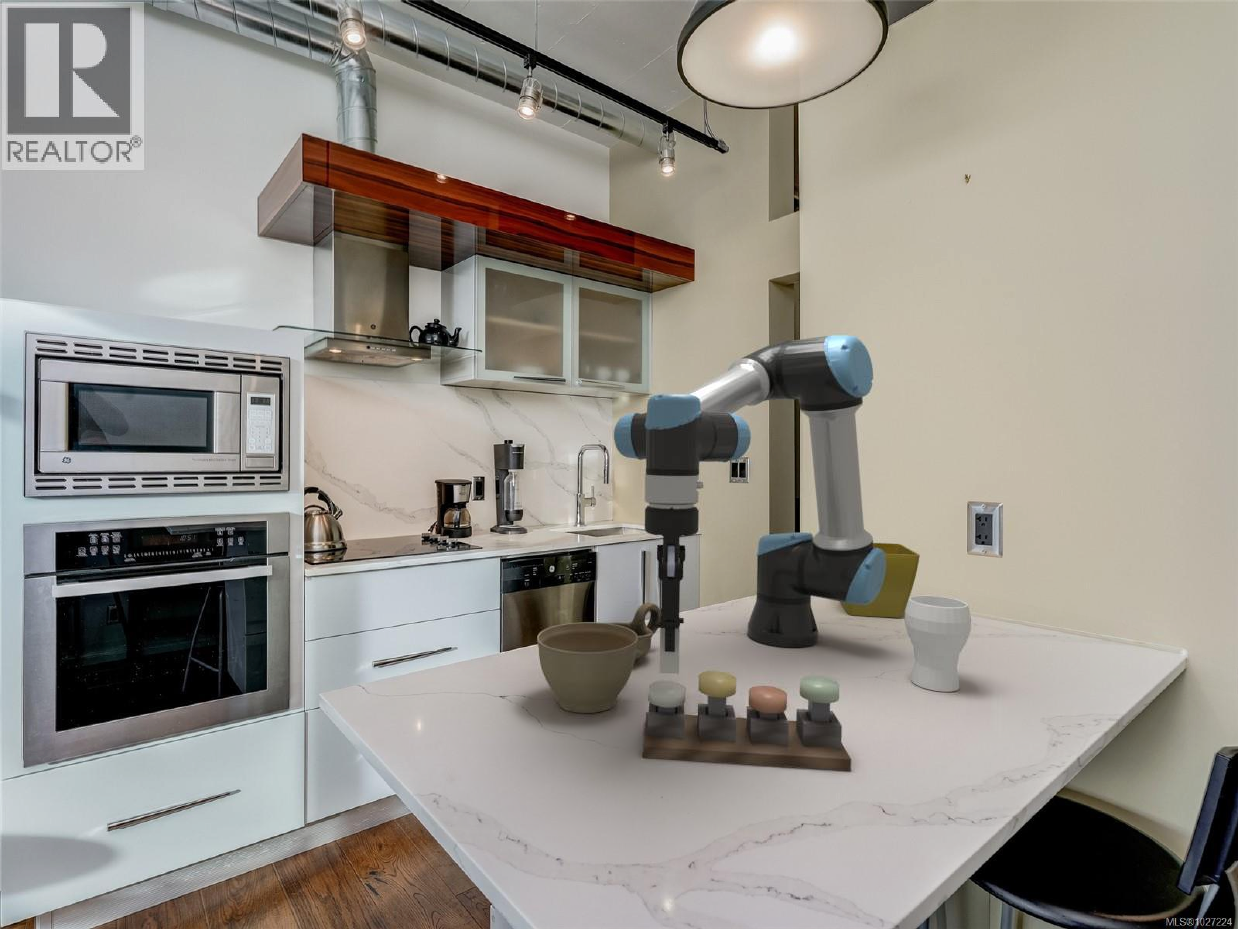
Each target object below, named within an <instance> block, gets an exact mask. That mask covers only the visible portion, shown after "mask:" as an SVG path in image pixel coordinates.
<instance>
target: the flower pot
mask: <svg viewBox="0 0 1238 929" xmlns="http://www.w3.org/2000/svg"><path fill="white" fill-rule="evenodd" d="M873 547H874V548H879V549H881V550H883V552H884V554H885V556H886V571H885V576H884V581H883V584H882V587H881V589H880V591H879V593H878V595H877V597H876V598H875V599H874V600H873V601H872V602H871V603H869V604H867V605H860V604H853V603H851V604H847V603H846V602H841V601H839V603H840V605H841V606H842V608H843V609H844V610H845V612H846V613H847V614H848V615H850V616H861V617H879V618H894V619H895V618H901V617H902V615H903V613H905V610H906V606H907V603H908V599H909V598H910V597H911V595H912V594H911V593H912V591H913V587H914V583H915V580H916V575H917V572H918V567H919V566H918V565H919V563H920V562H919V561H920V554H919V553H917V552H916V551H913V550H912V549H910V548H908V547H906V546H905V545H903V544H900V543H889V542H888V543H887V542H885V543H884V542H873Z"/></svg>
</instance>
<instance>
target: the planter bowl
mask: <svg viewBox="0 0 1238 929" xmlns="http://www.w3.org/2000/svg"><path fill="white" fill-rule="evenodd" d="M608 623H609V622H598V621H597V622H594V621H593V622H590V621H589V622H588V621H585V622H583V621H582V622H569V623H562V624H561V623H560V624H556V625H552V626H549V627H546V628H545V629H543V630H541V631H540V632H539V633H538V634H537V638H536V642H537V643H536V644H537V646H538V656H539V664H540V668H541V672H542V673H543V676H544V678H545V681H546V682H547V684H548V686H549V687H550V690H552V692H553V694H554V695H555V696H556V701H557V704H558V706H560V707H561V708H562V709H565V710H567V711H569V712H573V713H579V714H592V713H593V714H594V713H600V712H603V711H606V710H610V709H611V708H613V707H614V706H616V704H617V700H618V696H619V694H620V693H621V691H622V690H623V689H624V688H625V686H626V684H627V683H628V681H629V680H630V677H631V675H632V674H631V673H632V671H633V670H634V669H633V668H634V664H635V662H636V661H635V660H636V659H635V656H636V646H637V643H638V636H637V634H636V633H635V632H634V631H632V630H630V629H628V628H626V627H623V626H619V625H614V624H608Z"/></svg>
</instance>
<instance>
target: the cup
mask: <svg viewBox="0 0 1238 929" xmlns="http://www.w3.org/2000/svg"><path fill="white" fill-rule="evenodd" d="M970 612H971V611H970V607H969V605H968V603H967V602H965V601H963V600H960V599H956V598H953V597H946V596H941V595H929V594H928V595H927V594H922V595H921V594H919V595H918V594H917V595H912V596H911V595H910V597H909V599H908V602H907V605H906V607H905V609H904V626H905V628H906V633H907V635H908V638H909V640H910V642H911V644H912V647H913V653H914V654H913V655H914V663H913V669H912V672H911V677H910V678H911V679H910V680H911V682H912V683H913V684H914V685H916V686H918V687H920V688H922V689H923V688H924V689H927V690H931V691H935V692H943V693H945V692H946V693H949V692H955V691H959V690H960V680H959V673H958V662H959V659H960V658H959V656H960V653H961V652H962V650H963V648H964V647H966V646H965V645H966V644H967V642H968V639H969V637H970V634H971V630H972V617H971V613H970Z"/></svg>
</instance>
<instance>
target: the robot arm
mask: <svg viewBox="0 0 1238 929" xmlns="http://www.w3.org/2000/svg"><path fill="white" fill-rule="evenodd" d="M873 380H874V370H873V364H872V359H871V356H870V353H869V351H868V348H867V347H866V345H865V344H864V343H863V341H862V340H861V339H859V337H857V336H855V335H849V334H844V335H843V334H841V335H840V334H839V335H836V334H834V335H833V334H832V335H826V336H817V337H811V338H804V339H803V338H801V339H794V340H782V341H778V342H775V343H772V344H769V345H766V346H764V347H761V348H760V349H757V350H755V351H754V352H752V353H749V354H747V355H745V356H743V357H741V358H739V359H737V360H735V361H734V362H733V363H731V364H730V366H729V368H728V369H727V371H725V372H723V373H721V374H719V375H717V376H716V377H713V378H712V379H710V380H708V381H705V382H704V383H702V384H700V385H698V386H696V387H694V388H693V389H690V390H688V391H687V392H684V393H661V394H660V393H659V394H653V395H651V396H650V397H649V398H648V400H647V403H646V404H647V408H646V412H644V413H640V412H634V413H631V414H630V413H629V414H625V415H623V416H621V417H620V418H619V419H618V420H617V422H616V425H615V427H614V430H613V440H614V444H615V448H616V449H617V451H618V453H619V454H620V455H622V456H623V457H625V458H630V459H637V460H640V461H642V460H645V474H644V501H645V503H647V504H648V505H647V506H646V507H645V508H644V530H645V532H646V533H647V534H649V535H654V536H662V539H663V540H662V544H657V548H656V559H657V561H658V576H657V577H658V579H659V580H660V581H661V601H660V602H661V607H660V608H661V609H660V611H661V621H660V622H656V628H658V629H659V631H660V632H659V674H673V675H674V674H675V675H677V674H680V628H681V624H685V621H684V620H685V619H684V617H680V600H681V599H680V596H681V595H680V594H681V593H680V592H681V590H680V589H681V581H682V580H683V579H684V562H685V561H686V545H684V544H683V545H681V544H680V537H682V536H684V537H688V536H689V537H690V536H694V535H696V534H697V533H698V532H699V522H700V521H699V514H700V513H699V511H700V510H699V509H698V507H697V506H695V505H696V504H697V503H699V494H700V493H699V489H700V490H701V489H703V488H704V483H703V481H698V480H699V479H700V477H699V475H700V462H701V463H711V462H714V463H715V462H719V463H728V462H731V461H737V460H738V459H740V458H742V457H743V456H744V455H745V454H746V453H747V452H748V450H749V447H750V445H751V439H752V435H751V429H750V427H749V424H748V422H746V420H745V419H744V418H743V417H742V416H740V415H738V414H735V413H736V412H737V411H739V410H740V409H743V408H744V407H746V406H749V407H751V406H756V405H759V404H761V403H762V402H765V401H774V400H798V401H799V410H800V412H801V413H802V414H804V415H805V416H806V417H807V418H808V422H809V435H810V444H811V453H812V454H811V455H812V465H813V466H812V467H813V477H814V478H813V479H814V487H815V498H816V508H817V520H818V530H819V531H818V532H817V533H816V534H815V535H813V533H811V532H783V533H774V534H773V533H772V534H766V535H764V536H761V537H760V538H759V540H758V544H757V545H758V546H757V553H756V559H757V560H756V561H757V562H756V563H757V564H756V565H757V566H756V567H757V568H756V569H757V570H756V601H755V603H754V607H753V609H752V611H751V615H750V617H749V620H748V622H747V633H746V634H747V636H748V638H750V639H751V640H753V641H756V642H757V643H760V644H764V645H769V646H773V647H774V646H775V647H782V648H804V647H810V646H814V645H816V644H817V643H818V642H819V630H818V629H819V628H818V626H817V623H816V619H815V615H814V613H813V609H812V602H811V601H812V597H816V598H820V599H827V600H831V601H837V602H840V601H841V602H846V603H847V604H851V603H853V604H860V605H867V604H869V603H871V602H872V601H873V600H874V599H875V598H876V597H877V595H878V593H879V591H880V589H881V587H882V584H883V581H884V576H885V571H886V556H885V554H884V552H883V550H881V549H879V548H874V547H873V543H874V538H873V534H871V533H870V532H868V531H867V530H866V529H865V524H864V512H863V501H862V500H863V499H862V488H861V487H862V486H861V475H860V474H861V472H860V471H861V470H860V461H859V448H858V436H857V435H858V434H857V433H858V432H857V422H856V413H857V411H858V410H859V409H860V408H861V407H862V405H863V402H864V401H863V398H864V397H866V396H867V395H869V393H870V392H871V389H872V387H873V382H872V381H873Z"/></svg>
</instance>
